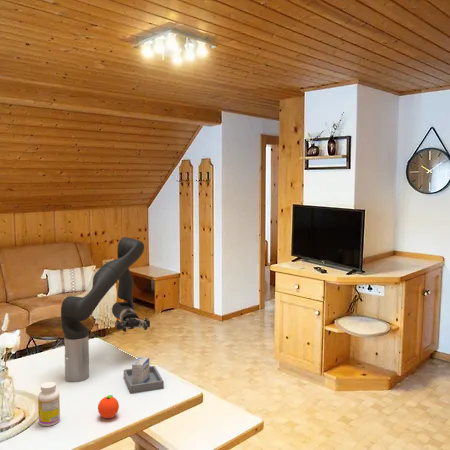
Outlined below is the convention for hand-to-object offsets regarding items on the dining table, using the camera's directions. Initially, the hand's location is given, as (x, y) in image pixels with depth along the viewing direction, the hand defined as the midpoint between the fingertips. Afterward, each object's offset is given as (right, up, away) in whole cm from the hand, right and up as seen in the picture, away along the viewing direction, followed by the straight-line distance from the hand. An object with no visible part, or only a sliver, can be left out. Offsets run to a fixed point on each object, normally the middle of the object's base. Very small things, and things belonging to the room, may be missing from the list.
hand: (135, 328), depth 198 cm
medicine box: (+4, -19, -12) cm, 22 cm away
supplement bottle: (-21, -22, -41) cm, 51 cm away
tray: (+5, -19, -11) cm, 22 cm away
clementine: (-2, -22, -37) cm, 43 cm away
